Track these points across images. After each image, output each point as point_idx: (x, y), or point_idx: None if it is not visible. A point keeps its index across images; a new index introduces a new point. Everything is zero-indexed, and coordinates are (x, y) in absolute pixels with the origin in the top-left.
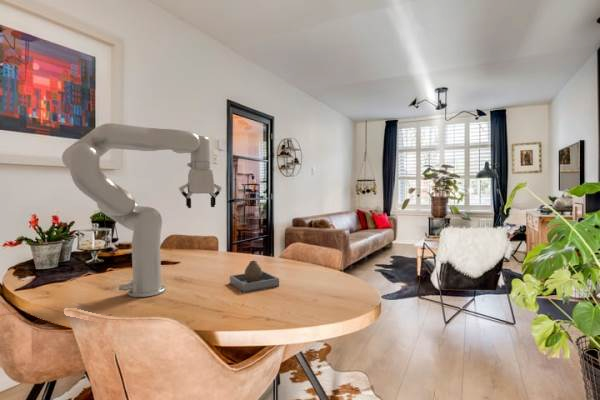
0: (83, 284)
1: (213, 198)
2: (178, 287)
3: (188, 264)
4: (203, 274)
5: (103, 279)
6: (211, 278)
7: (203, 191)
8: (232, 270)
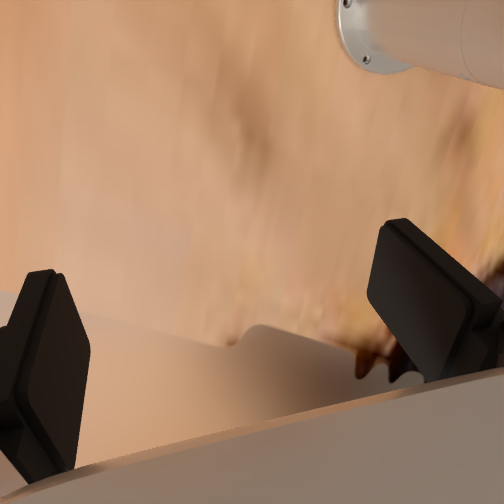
0: (486, 212)
1: (5, 384)
2: (285, 3)
3: (189, 330)
4: (156, 170)
5: (436, 243)
6: (130, 82)
7: (318, 454)
8: (16, 182)
